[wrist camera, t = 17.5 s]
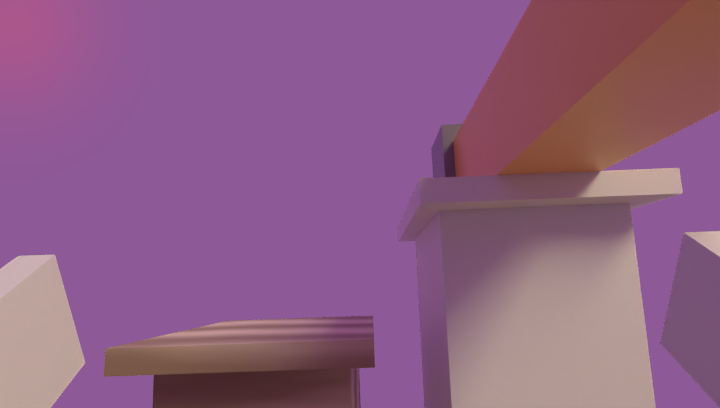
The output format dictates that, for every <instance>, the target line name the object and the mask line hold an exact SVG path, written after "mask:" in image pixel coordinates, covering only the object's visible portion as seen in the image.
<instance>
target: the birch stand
mask: <svg viewBox="0 0 720 408" xmlns="http://www.w3.org/2000/svg"><path fill="white" fill-rule="evenodd" d="M373 367H375V363H374V332H373V316H351V317H323V318H295V319H267V320H239V321H225V322H220V323H216V324H211V325H207V326H202V327H198V328H194V329H189V330H185V331H181V332H176V333H172V334H167V335H163V336H159V337H154V338H150V339H145V340H141V341H137V342H132V343H128V344H123V345H119V346H114V347H110V348H106V349H105V367H104V376H134V375H154V385H153V408H360V382H359V381H360V379H359V368H373Z"/></svg>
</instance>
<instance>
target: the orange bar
mask: <svg viewBox="0 0 720 408" xmlns="http://www.w3.org/2000/svg"><path fill="white" fill-rule="evenodd" d="M719 110H720V0H531V2H530V4H529V6H528V8H527V9H526V11H525V13H524V15H523V17H522V19H521V20H520V22H519V24H518V26H517V27H516V29H515V31H514V33H513V35H512V36H511V38H510V40H509V42H508V44H507V45H506V47H505V49H504V51H503V53H502V55H501V56H500V58H499V60H498V62H497V63H496V65H495V67H494V69H493V71H492V73H491V74H490V76H489V78H488V80H487V81H486V83H485V85H484V87H483V89H482V90H481V92H480V94H479V96H478V98H477V99H476V101H475V103H474V105H473V107H472V108H471V110H470V112H469V114H468V116H467V117H466V119H465V121H464V123H463V124H459V125H457V124H456V125H442V126H441V128H440V130H439V133H438V135H437V137H436V139H435V142H434V144H433V146H432V164H433V178H439V177H464V176H489V175H514V174H539V173H564V172H589V171H602V170H604V169H605V168H608V167H609V166H612V165H613V164H615V163H617V162H619V161H621V160H623V159H625V158H627V157H629V156H631V155H633V154H635V153H637V152H639V151H641V150H643V149H645V148H647V147H649V146H651V145H653V144H655V143H657V142H659V141H660V140H662V139H664V138H666V137H668V136H670V135H672V134H674V133H676V132H678V131H680V130H682V129H684V128H686V127H688V126H690V125H692V124H694V123H696V122H698V121H700V120H702V119H703V118H705V117H707V116H709V115H711V114H713V113H715V112H717V111H719Z"/></svg>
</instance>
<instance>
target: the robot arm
mask: <svg viewBox="0 0 720 408" xmlns="http://www.w3.org/2000/svg"><path fill="white" fill-rule="evenodd" d="M660 343H661V345H663V347H664V348H665V349H666V350H667V351H668V352H669V353H670V354H671V355H672V357H673V358H674V359H675V360H676V361H677V362H678V363H679V364H680V365H681V366H682V368H683V369H684V370H685V371H686V372H687V373H688V374H689V375H690V376H691V377H692V378H693V380H694V381H695V382H696V383H697V384H698V385H699V386H700V387H701V388H702V389H703V390H704V392H705V393H706V394H707V395H708V396H709V397H710V398H711V399H712V400H713V401H714V403H715V404H717V406H718V407H719V408H720V231H715V232H685V233H684V234H683V239H682V243H681V248H680V253H679V257H678V262H677V267H676V271H675V276H674V281H673V285H672V290H671V295H670V299H669V304H668V309H667V313H666V318H665V323H664V327H663V332H662V336H661V342H660ZM84 364H85V361H84V357H83V353H82V350H81V346H80V343H79V339H78V335H77V332H76V328H75V325H74V321H73V318H72V314H71V311H70V307H69V304H68V300H67V296H66V293H65V289H64V286H63V282H62V279H61V275H60V271H59V268H58V265H57V261H56V257H55V255H32V256H18V257H16V258H15V259H13V260H12V261H11V262H9V263H8V264H7V265H5V266H4V267H3V268H1V269H0V408H51V407H52V405H53V404H54V403H55V401H56V400H57V399H58V397H59V396H60V395H61V394H62V392H63V391H64V389H65V388H66V387H67V386H68V384H69V383H70V382H71V381H72V379H73V378H74V377H75V375H76V374H77V373H78V371H79V370H80V369H81V367H82V366H83V365H84Z"/></svg>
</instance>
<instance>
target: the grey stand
mask: <svg viewBox="0 0 720 408" xmlns="http://www.w3.org/2000/svg"><path fill="white" fill-rule="evenodd" d="M679 194H683V192H682V185H681V178H680V171H679V168H664V169H639V170H614V171H589V172H564V173H539V174H514V175H489V176H464V177H439V178H419V179H418V182H417V184H416V187H415V189H414V191H413V193H412V196H411V198H410V200H409V203H408V205H407V207H406V210H405V212H404V214H403V217H402V220H401V221H400V224H399V226H398V238H399V241H416V258H417V276H418V295H419V313H420V331H421V350H422V367H423V387H424V406H425V408H656V407H655V398H654V391H653V383H652V375H651V367H650V359H649V351H648V343H647V335H646V327H645V319H644V311H643V303H642V296H641V288H640V280H639V273H638V264H637V256H636V248H635V240H634V233H633V224H632V217H631V209H633V208H636V207H639V206H643V205H646V204H649V203H653V202H656V201H660V200H663V199H666V198H669V197H673V196H676V195H679Z"/></svg>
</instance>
